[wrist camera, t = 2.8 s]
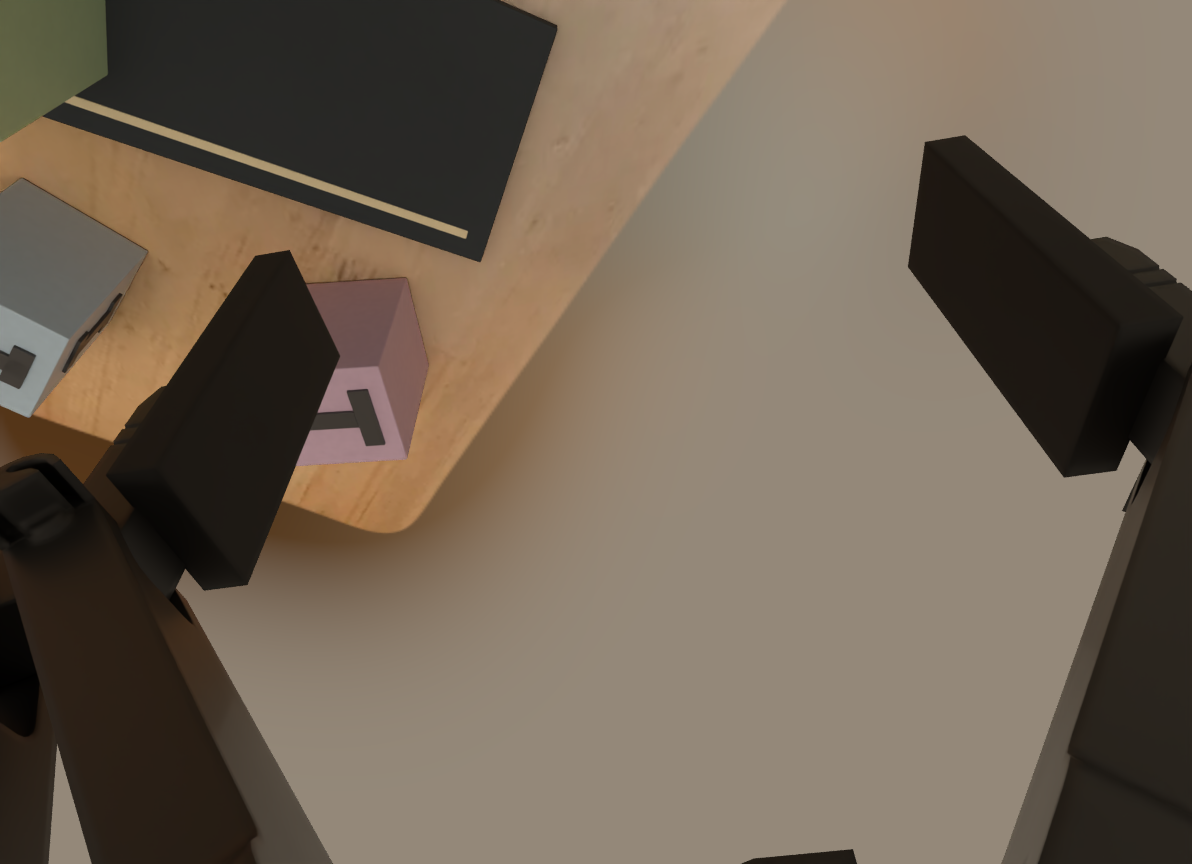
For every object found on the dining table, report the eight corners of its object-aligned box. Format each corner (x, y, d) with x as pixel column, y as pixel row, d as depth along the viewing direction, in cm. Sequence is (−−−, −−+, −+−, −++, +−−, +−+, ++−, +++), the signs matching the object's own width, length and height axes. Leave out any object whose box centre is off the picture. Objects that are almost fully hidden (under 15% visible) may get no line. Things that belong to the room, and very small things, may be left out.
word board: (-68, 73, 29) (-77, 77, 29) (-132, -278, 23) (-145, -279, 22) (481, 257, 36) (480, 263, 35) (558, 25, 29) (557, 28, 29)
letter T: (294, 283, 36) (244, 376, 31) (406, 277, 36) (377, 368, 30) (327, 371, 40) (288, 469, 34) (429, 365, 40) (406, 462, 34)
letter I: (111, 325, 38) (30, 422, 32) (-12, 261, 35) (-125, 353, 29) (151, 252, 35) (71, 343, 29) (21, 176, 32) (-95, 261, 27)
